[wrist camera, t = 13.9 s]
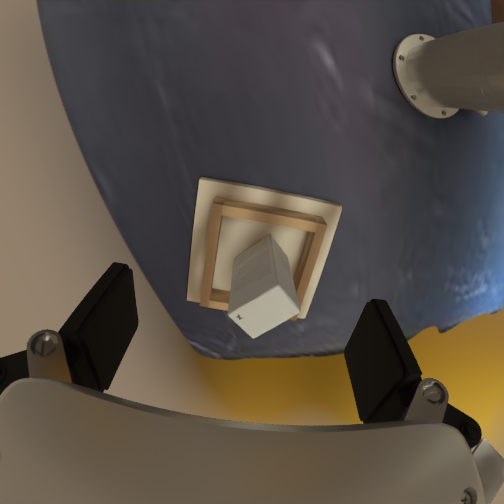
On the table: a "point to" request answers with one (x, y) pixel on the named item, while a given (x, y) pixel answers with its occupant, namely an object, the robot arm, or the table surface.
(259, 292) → the skincare box
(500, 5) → the tissue box cover
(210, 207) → the socket stand
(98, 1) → the table surface
